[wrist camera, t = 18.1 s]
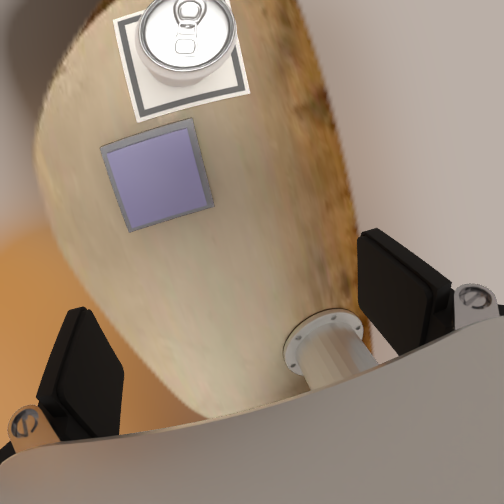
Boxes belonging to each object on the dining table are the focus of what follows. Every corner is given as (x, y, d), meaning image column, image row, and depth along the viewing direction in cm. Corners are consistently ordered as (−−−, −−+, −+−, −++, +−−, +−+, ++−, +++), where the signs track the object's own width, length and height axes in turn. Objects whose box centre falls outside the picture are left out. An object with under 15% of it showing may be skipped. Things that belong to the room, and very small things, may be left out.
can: (219, 26, 24) (248, -14, 14) (212, 89, 27) (237, 81, 17) (150, 24, 23) (138, -19, 12) (143, 88, 26) (125, 79, 15)
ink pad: (191, 117, 28) (192, 118, 26) (213, 202, 33) (215, 209, 31) (102, 146, 27) (97, 149, 25) (130, 228, 32) (127, 236, 30)
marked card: (226, -7, 23) (227, -8, 23) (249, 93, 28) (250, 93, 28) (113, 20, 22) (112, 19, 22) (137, 122, 27) (137, 123, 27)
